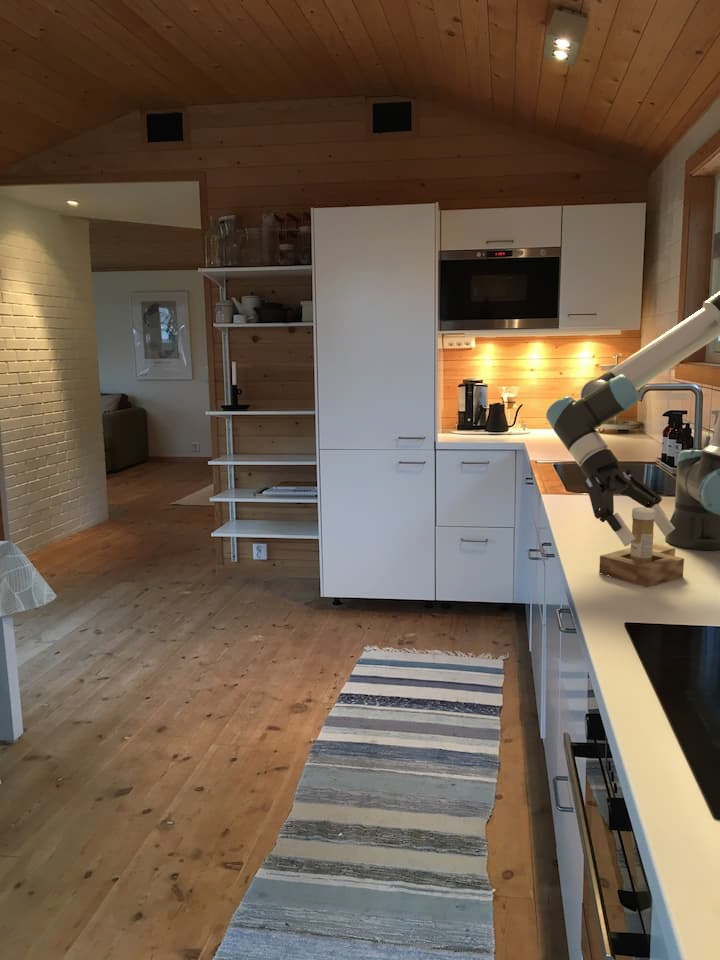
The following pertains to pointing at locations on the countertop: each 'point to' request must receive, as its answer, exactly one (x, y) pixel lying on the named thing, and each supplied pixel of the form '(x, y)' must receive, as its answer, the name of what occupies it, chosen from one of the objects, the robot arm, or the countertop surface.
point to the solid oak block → (663, 549)
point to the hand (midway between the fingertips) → (650, 537)
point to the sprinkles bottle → (642, 534)
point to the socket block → (641, 568)
